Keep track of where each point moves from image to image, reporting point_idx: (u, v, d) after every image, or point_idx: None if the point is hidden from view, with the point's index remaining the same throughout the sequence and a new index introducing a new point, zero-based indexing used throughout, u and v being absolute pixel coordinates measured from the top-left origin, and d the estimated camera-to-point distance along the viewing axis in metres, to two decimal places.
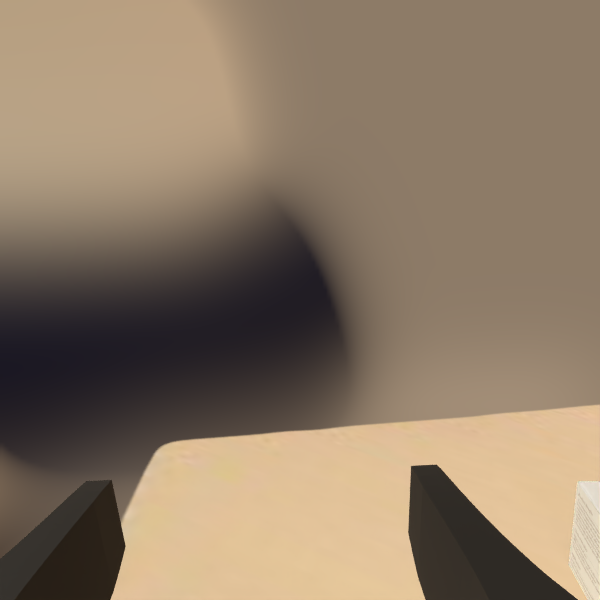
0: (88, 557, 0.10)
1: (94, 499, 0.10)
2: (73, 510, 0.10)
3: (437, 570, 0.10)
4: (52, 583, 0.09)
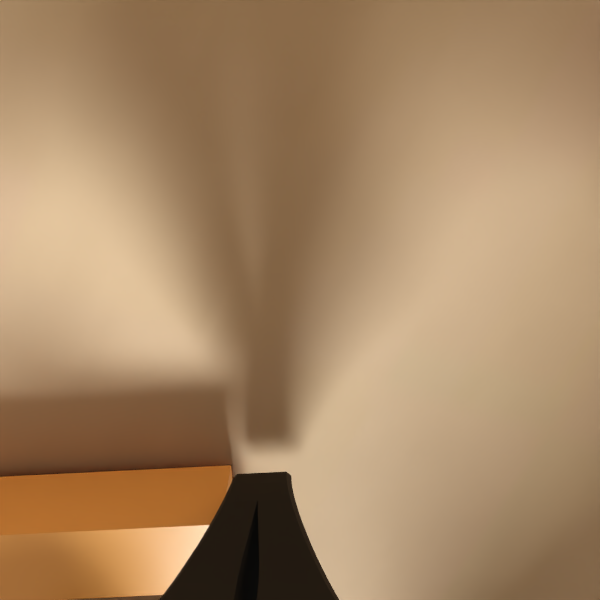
0: (257, 549, 0.10)
1: (259, 491, 0.11)
2: (244, 502, 0.10)
3: None
4: (246, 574, 0.09)
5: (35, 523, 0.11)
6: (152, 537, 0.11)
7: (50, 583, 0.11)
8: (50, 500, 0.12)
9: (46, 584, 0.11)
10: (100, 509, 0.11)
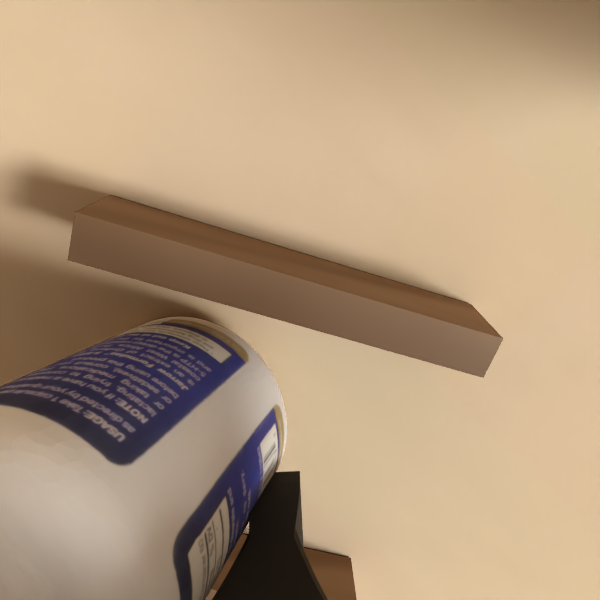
0: None
1: (299, 489, 0.11)
2: (285, 500, 0.10)
3: None
4: None
5: None
6: None
7: None
8: None
9: None
10: None
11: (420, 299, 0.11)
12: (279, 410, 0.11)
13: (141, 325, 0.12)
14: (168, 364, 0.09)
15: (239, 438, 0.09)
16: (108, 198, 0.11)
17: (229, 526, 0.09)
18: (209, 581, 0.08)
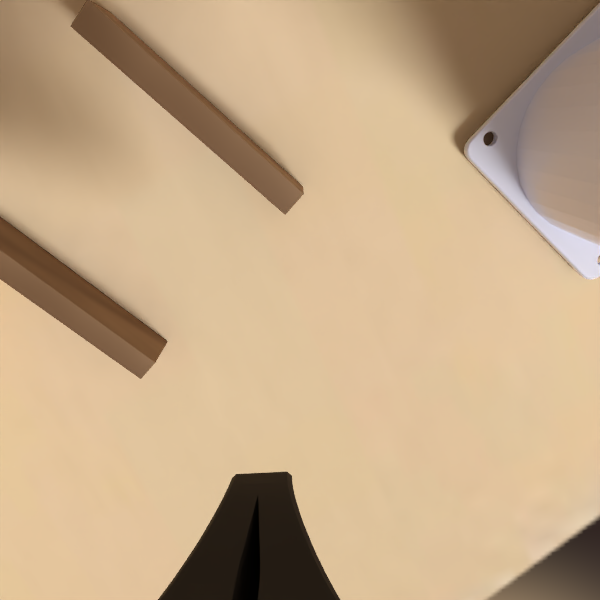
0: (256, 549, 0.10)
1: (257, 491, 0.11)
2: (243, 502, 0.10)
3: None
4: (245, 574, 0.09)
5: None
6: None
7: None
8: None
9: None
10: None
11: (270, 160, 0.18)
12: None
13: None
14: None
15: None
16: (108, 11, 0.17)
17: None
18: None
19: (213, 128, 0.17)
